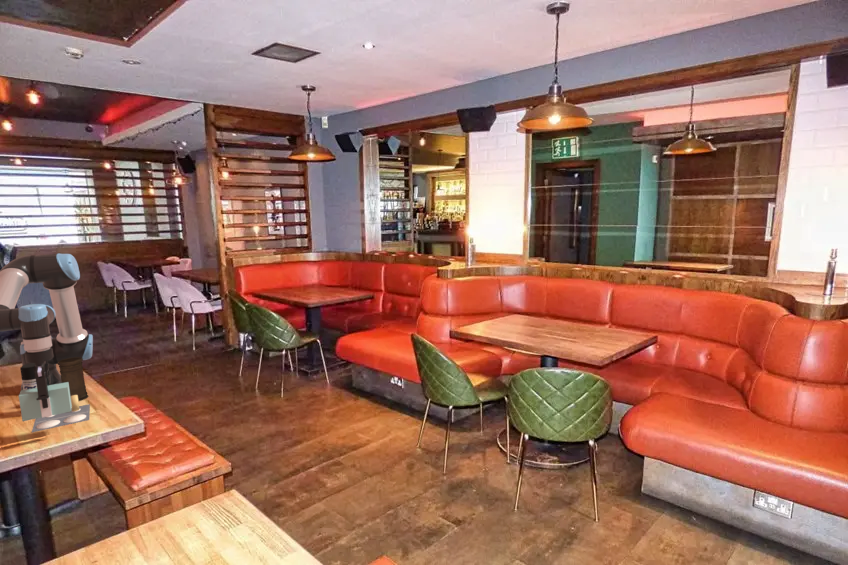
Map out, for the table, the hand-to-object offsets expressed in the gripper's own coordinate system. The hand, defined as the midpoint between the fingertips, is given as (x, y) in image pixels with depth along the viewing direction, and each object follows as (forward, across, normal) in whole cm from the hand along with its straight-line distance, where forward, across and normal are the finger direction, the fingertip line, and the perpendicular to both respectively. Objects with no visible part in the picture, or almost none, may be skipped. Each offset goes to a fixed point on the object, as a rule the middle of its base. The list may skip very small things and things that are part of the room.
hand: (48, 412), depth 167 cm
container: (+9, -36, +6) cm, 37 cm away
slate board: (+9, -16, +2) cm, 18 cm away
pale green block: (0, 0, 0) cm, 0 cm away
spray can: (+9, -29, -6) cm, 31 cm away
